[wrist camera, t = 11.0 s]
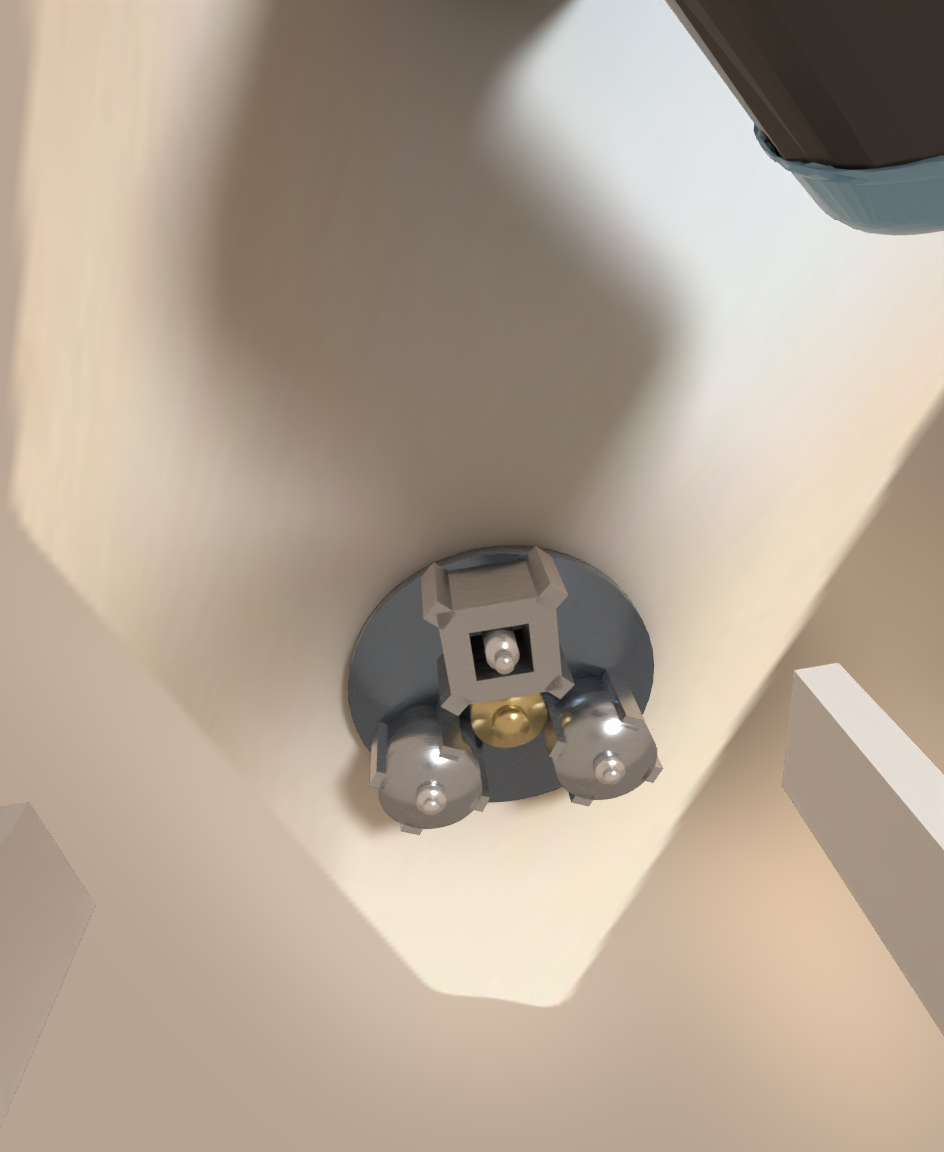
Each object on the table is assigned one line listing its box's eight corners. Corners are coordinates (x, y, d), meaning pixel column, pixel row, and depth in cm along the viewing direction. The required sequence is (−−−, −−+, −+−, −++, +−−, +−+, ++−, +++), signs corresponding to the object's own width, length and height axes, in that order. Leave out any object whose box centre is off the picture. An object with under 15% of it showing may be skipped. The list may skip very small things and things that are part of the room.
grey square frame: (418, 564, 44) (420, 604, 40) (550, 543, 44) (567, 580, 40) (438, 671, 48) (442, 718, 44) (559, 651, 49) (575, 696, 44)
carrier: (411, 501, 43) (413, 557, 37) (705, 601, 49) (754, 665, 42) (311, 755, 52) (298, 837, 46) (569, 815, 58) (592, 895, 51)
